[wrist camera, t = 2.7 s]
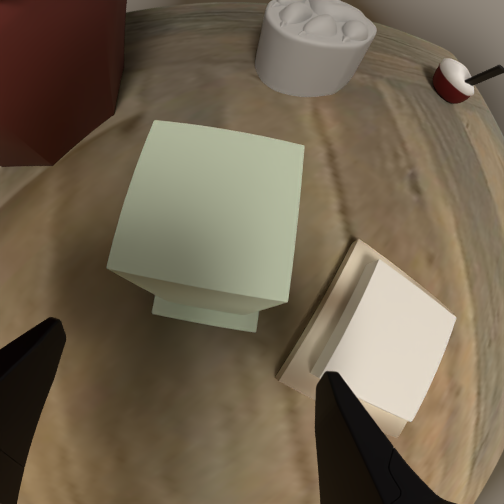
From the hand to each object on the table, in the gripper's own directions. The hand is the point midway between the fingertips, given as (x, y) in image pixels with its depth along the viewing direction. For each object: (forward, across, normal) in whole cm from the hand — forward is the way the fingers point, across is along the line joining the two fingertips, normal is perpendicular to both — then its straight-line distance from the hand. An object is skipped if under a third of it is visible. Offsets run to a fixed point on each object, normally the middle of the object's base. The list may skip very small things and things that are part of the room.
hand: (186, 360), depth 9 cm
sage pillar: (+11, 0, +5) cm, 12 cm away
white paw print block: (+29, -5, -12) cm, 32 cm away
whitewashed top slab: (+8, -14, +6) cm, 17 cm away
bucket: (+22, +20, -6) cm, 31 cm away
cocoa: (+34, -27, -17) cm, 46 cm away
